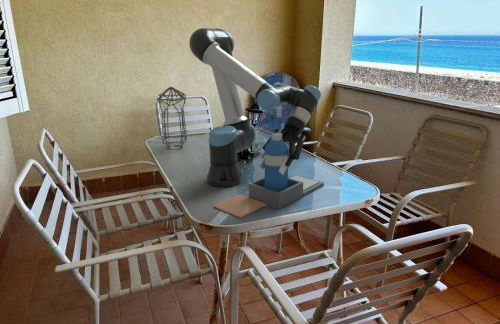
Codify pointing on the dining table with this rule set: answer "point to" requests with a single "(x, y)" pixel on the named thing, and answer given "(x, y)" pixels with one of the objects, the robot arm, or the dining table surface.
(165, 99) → the geometric lantern
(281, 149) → the water bottle
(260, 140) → the chinaware
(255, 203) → the terracotta tile
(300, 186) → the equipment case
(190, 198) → the dining table surface
